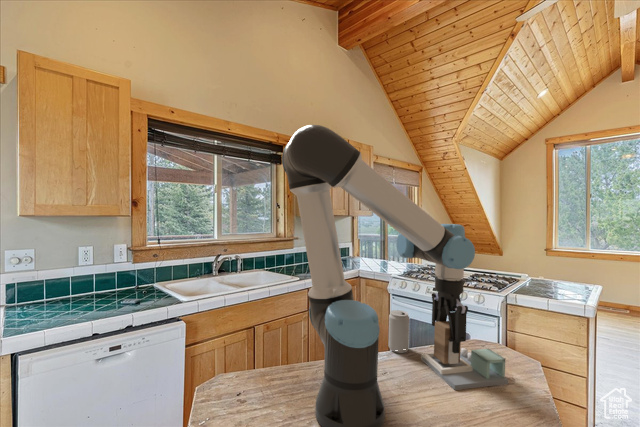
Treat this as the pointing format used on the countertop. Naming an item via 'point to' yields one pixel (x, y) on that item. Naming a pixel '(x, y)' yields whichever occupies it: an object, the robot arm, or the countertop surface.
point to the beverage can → (398, 331)
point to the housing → (487, 362)
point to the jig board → (462, 372)
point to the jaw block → (442, 341)
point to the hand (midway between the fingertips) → (446, 357)
